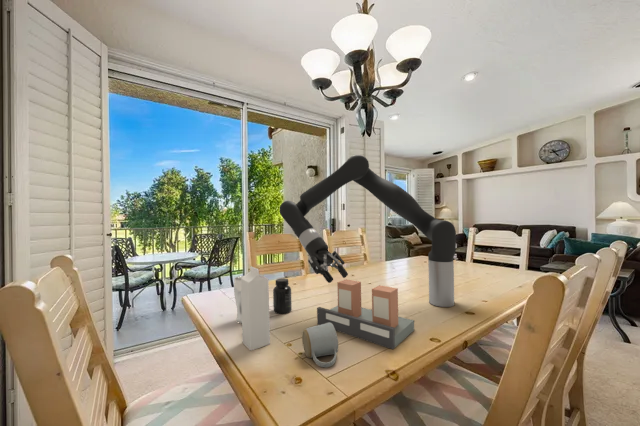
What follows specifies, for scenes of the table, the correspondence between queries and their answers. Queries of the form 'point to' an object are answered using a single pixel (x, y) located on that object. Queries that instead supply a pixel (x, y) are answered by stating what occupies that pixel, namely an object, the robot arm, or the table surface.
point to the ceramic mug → (320, 342)
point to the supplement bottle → (282, 297)
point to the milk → (255, 310)
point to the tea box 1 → (349, 297)
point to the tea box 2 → (385, 305)
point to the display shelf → (366, 326)
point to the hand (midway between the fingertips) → (339, 278)
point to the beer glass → (238, 298)
